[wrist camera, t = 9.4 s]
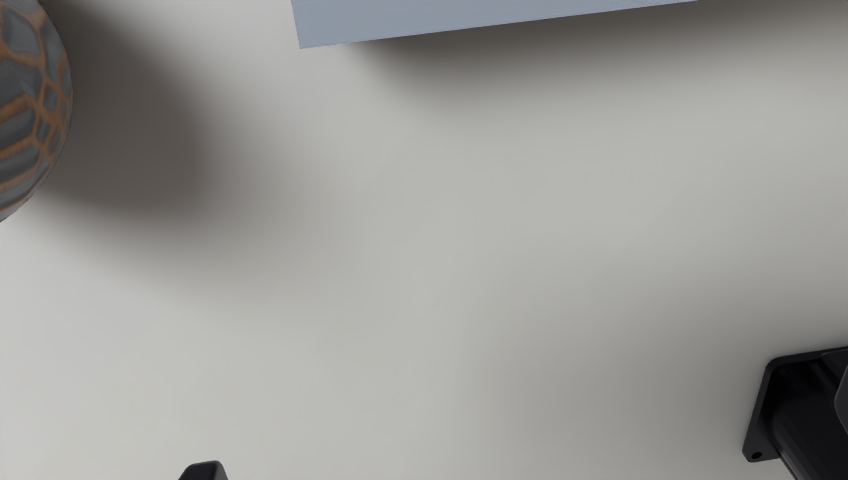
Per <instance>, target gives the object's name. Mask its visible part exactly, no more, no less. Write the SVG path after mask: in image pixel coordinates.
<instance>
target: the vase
mask: <svg viewBox="0 0 848 480" xmlns="http://www.w3.org/2000/svg"><path fill="white" fill-rule="evenodd" d="M72 106H73V87H72V77H71V70H70V65H69V61H68V57H67V54H66V51H65V48H64V46H63V43H62V41H61V39H60V36H59V34H58V32H57V31H56V29H55V27H54V25H53V23H52V21H51V20H50V18H49V16H48V15H47V13H46V12H45V10H44V9H43V8H42V6H41V5H40V4H39V2H38V1H37V0H0V222H2V221H3V220H5V219H6V218H7V217H9V216H10V215H11V214H13V213H14V212H15V211H16V210H17V209H19V208H20V207H21V206H22V205H23V204H24V203H25V202H26V201H27V200H28V199H29V198H30V197H31V196H32V195H33V194H34V193H35V191H36V190H37V189H38V188H39V186H40V185H41V184H42V183H43V181H44V180H45V178H46V177H47V176H48V174H49V172H50V171H51V169H52V167H53V166H54V164H55V162H56V160H57V158H58V156H59V154H60V152H61V150H62V147H63V145H64V143H65V140H66V138H67V134H68V131H69V127H70V122H71V115H72Z"/></svg>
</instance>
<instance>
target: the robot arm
mask: <svg viewBox="0 0 848 480" xmlns="http://www.w3.org/2000/svg"><path fill="white" fill-rule="evenodd" d="M742 453H743V455H744V456H745V458H746V459H747V461H748V462H759V461H765V460H771V459H777V458H780V459H781V460H782V461H783V463H784V464H785V466H786V467H787V469H788V470H789V472H790V473H791V474H792V476H793V477H794V479H795V480H848V346H847V347H840V348H834V349H828V350H822V351H815V352H809V353H803V354H796V355H790V356H784V357H778V358H775V359H773V360H772V361H770V362H769V363H768V365H767V366H766V369H765V373H764V376H763V380H762V383H761V387H760V390H759V394H758V397H757V400H756V404H755V407H754V411H753V414H752V418H751V421H750V425H749V428H748V432H747V435H746V439H745V442H744V446H743V449H742ZM178 480H228V478H227V476H226V473H225V470H224V468H223V466H222V464H221V463H220V462H219V461H215V460H214V461H207V462H201V463H195V464H192V465H190V466H188V467H187V468H186V469H185V471H184V472H183V473H182V475H181V476H180V478H179V479H178Z"/></svg>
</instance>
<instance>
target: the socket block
mask: <svg viewBox="0 0 848 480" xmlns="http://www.w3.org/2000/svg"><path fill="white" fill-rule="evenodd" d="M688 1H696V0H291V2H292V8H293V13H294V19H295V24H296V29H297V35H298V40H299V45H300V49H302V48H311V47H319V46H327V45H335V44H343V43H352V42H360V41H368V40H376V39H384V38H393V37H401V36H409V35H417V34H426V33H434V32H442V31H450V30H458V29H467V28H475V27H483V26H491V25H499V24H508V23H516V22H524V21H532V20H540V19H549V18H557V17H565V16H573V15H581V14H590V13H598V12H606V11H614V10H622V9H631V8H639V7H647V6H655V5H663V4H672V3H680V2H688Z"/></svg>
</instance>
